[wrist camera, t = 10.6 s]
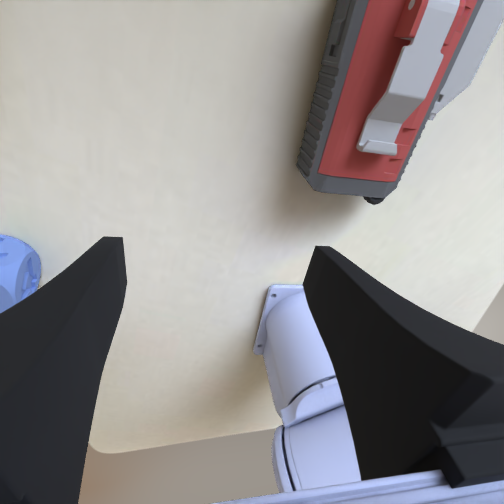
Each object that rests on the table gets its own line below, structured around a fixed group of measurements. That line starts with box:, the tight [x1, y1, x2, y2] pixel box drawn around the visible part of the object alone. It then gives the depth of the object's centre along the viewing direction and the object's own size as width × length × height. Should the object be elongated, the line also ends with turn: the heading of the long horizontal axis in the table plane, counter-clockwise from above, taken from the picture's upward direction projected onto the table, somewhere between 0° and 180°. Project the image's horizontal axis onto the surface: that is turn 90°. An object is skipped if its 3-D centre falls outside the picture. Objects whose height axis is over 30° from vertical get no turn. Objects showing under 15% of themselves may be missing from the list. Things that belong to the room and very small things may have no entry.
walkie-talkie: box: [296, 0, 504, 205], centre depth 15 cm, size 9×4×20 cm
